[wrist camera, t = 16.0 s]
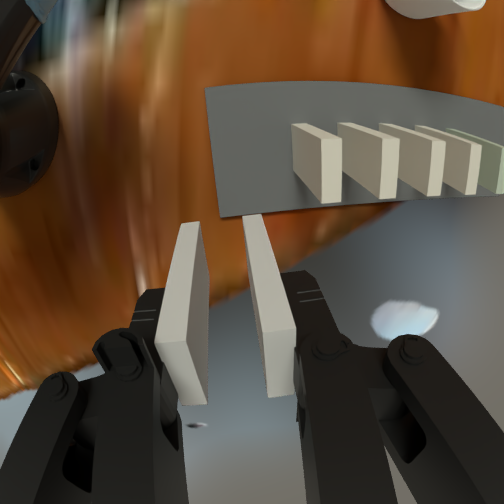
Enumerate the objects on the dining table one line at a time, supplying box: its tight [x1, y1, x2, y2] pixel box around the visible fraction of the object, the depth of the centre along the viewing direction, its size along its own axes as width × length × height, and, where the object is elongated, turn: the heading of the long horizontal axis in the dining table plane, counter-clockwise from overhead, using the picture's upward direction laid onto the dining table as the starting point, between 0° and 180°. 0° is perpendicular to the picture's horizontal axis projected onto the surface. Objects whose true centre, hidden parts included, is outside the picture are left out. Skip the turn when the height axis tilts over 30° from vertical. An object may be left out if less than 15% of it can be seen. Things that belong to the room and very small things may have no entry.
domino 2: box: [337, 123, 400, 199], centre depth 26 cm, size 2×5×10 cm, turn 5°
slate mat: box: [205, 81, 504, 218], centre depth 31 cm, size 42×14×1 cm, turn 95°
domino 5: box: [446, 128, 504, 194], centre depth 27 cm, size 2×5×10 cm, turn 5°
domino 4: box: [415, 125, 482, 195], centre depth 27 cm, size 2×5×10 cm, turn 4°
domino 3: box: [379, 123, 446, 196], centre depth 27 cm, size 2×5×10 cm, turn 5°
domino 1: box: [291, 123, 342, 204], centre depth 26 cm, size 2×5×10 cm, turn 4°
